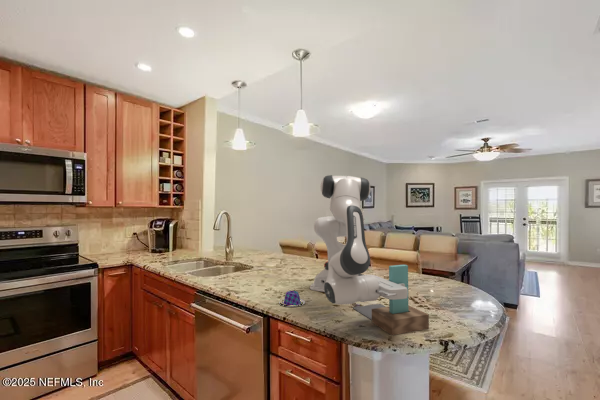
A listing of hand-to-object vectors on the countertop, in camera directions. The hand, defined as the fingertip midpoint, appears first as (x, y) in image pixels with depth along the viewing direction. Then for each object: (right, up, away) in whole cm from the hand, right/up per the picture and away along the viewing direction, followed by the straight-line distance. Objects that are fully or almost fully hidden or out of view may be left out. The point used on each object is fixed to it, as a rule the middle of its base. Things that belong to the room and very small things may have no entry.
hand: (400, 284), depth 108 cm
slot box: (-1, -15, -1) cm, 15 cm away
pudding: (-41, -16, +25) cm, 51 cm away
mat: (-6, -15, +13) cm, 21 cm away
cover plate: (-1, -10, -1) cm, 10 cm away
